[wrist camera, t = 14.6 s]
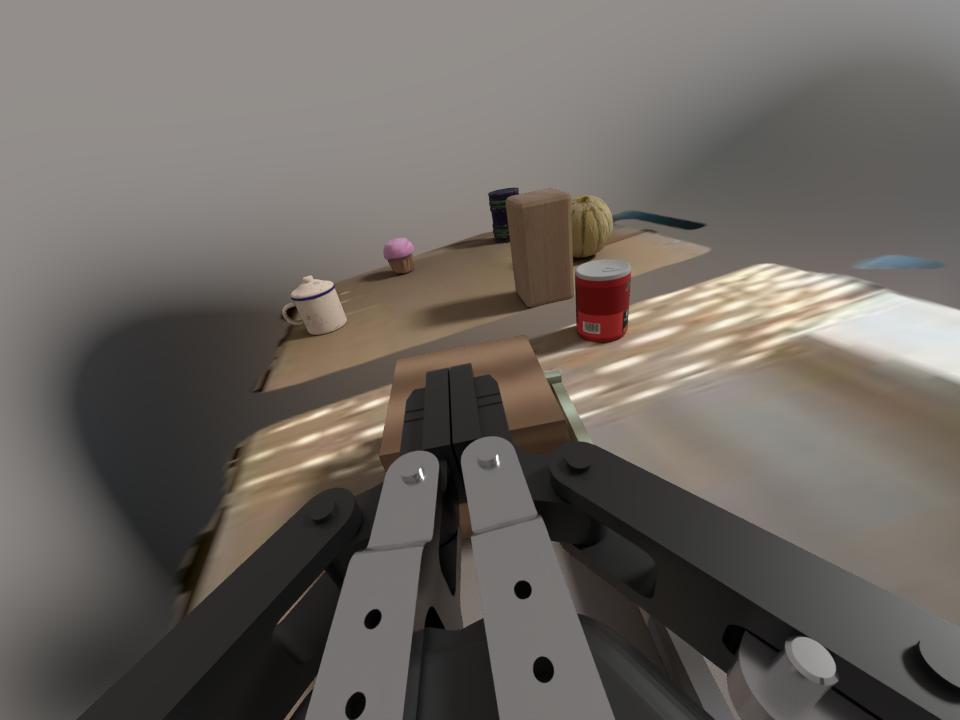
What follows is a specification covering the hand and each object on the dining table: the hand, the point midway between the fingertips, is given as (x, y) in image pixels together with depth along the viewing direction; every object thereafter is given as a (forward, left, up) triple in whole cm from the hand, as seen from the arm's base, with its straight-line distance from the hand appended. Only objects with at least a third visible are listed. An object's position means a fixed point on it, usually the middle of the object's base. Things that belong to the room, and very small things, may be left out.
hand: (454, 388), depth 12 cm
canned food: (+14, -45, -24) cm, 53 cm away
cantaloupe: (+35, -81, -24) cm, 91 cm away
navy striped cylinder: (+68, -94, -24) cm, 118 cm away
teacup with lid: (+70, -24, -24) cm, 78 cm away
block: (+31, -55, -24) cm, 67 cm away
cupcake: (+81, -58, -24) cm, 102 cm away
